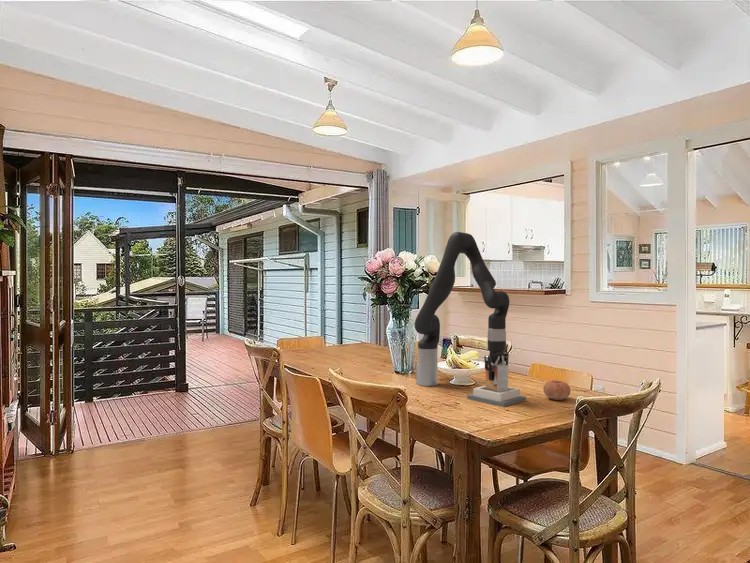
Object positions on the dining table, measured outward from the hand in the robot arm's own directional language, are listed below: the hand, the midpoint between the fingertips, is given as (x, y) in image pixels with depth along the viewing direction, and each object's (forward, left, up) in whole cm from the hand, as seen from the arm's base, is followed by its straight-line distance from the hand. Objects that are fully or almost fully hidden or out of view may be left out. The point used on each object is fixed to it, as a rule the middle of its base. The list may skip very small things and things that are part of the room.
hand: (496, 379), depth 217 cm
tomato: (+16, +20, -9) cm, 27 cm away
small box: (0, 0, -4) cm, 4 cm away
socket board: (0, 0, -8) cm, 8 cm away
